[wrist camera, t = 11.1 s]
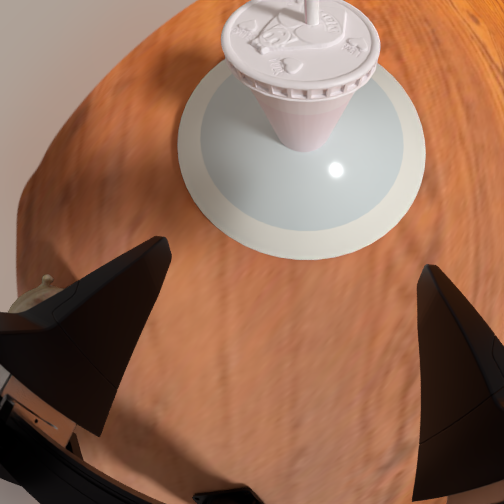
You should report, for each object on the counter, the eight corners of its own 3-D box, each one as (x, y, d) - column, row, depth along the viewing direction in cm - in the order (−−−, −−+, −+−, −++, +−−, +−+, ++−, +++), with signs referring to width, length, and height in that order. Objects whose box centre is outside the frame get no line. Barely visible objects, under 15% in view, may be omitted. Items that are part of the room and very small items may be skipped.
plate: (247, 304, 19) (243, 307, 18) (154, 106, 21) (148, 99, 20) (457, 192, 17) (465, 189, 16) (335, 24, 18) (336, 16, 17)
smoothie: (367, 142, 17) (448, -20, 3) (289, 189, 18) (259, 25, 4) (312, 77, 18) (308, -89, 4) (238, 118, 18) (153, -43, 5)
